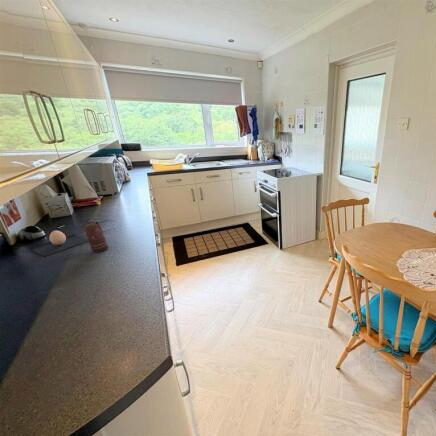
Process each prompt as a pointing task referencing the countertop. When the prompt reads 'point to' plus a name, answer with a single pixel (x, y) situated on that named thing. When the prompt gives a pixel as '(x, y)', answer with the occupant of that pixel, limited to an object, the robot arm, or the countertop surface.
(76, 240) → the placemat
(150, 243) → the countertop surface
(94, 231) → the can
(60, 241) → the egg
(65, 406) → the countertop surface
